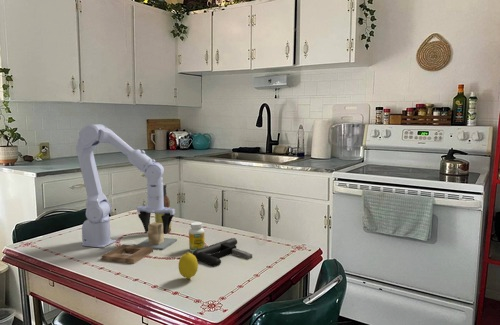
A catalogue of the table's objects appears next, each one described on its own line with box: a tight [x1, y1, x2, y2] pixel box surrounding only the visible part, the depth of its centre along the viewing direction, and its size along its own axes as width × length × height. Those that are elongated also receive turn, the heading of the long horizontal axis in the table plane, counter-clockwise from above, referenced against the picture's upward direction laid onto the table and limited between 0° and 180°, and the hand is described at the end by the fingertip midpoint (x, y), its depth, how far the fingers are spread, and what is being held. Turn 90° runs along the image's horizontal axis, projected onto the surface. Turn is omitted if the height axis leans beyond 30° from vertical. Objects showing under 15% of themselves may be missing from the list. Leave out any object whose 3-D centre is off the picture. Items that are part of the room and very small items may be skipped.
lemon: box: [178, 252, 199, 280], centre depth 115 cm, size 6×6×8 cm
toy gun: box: [191, 237, 253, 267], centre depth 135 cm, size 3×20×16 cm
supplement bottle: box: [188, 221, 206, 253], centre depth 140 cm, size 5×5×10 cm
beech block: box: [147, 221, 165, 245], centre depth 147 cm, size 4×4×7 cm
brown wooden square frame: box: [101, 244, 154, 265], centre depth 135 cm, size 12×12×2 cm
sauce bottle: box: [154, 182, 172, 234], centre depth 161 cm, size 7×6×20 cm
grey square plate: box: [135, 237, 178, 251], centre depth 147 cm, size 11×11×1 cm
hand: (156, 232), depth 147 cm, fingers open, 7 cm apart
